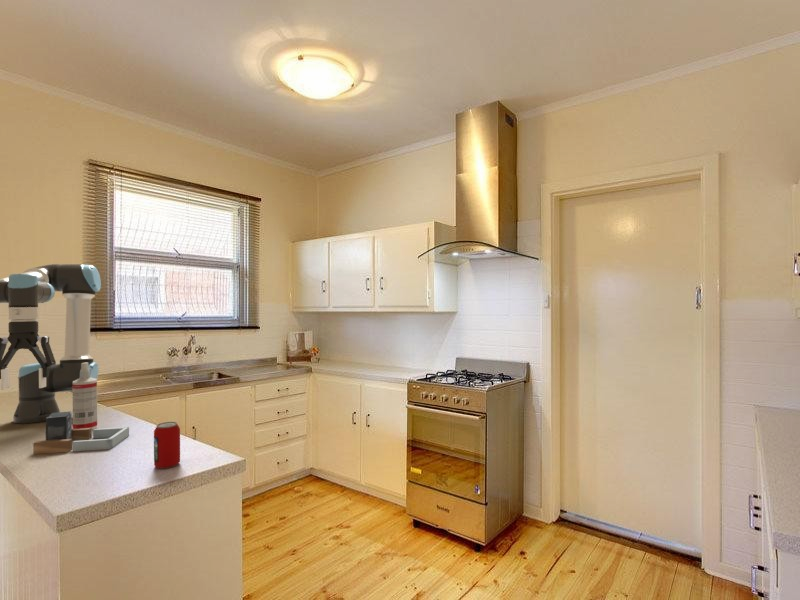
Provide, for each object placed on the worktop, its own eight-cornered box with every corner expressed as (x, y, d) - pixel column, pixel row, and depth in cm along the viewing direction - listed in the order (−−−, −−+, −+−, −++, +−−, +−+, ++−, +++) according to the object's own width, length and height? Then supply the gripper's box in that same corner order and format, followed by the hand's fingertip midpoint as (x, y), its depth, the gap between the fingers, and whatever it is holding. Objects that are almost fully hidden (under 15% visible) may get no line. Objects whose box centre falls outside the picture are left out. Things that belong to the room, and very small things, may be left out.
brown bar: (59, 439, 156) (59, 429, 156) (91, 437, 157) (91, 427, 157) (33, 454, 141) (33, 442, 141) (69, 451, 143) (69, 440, 143)
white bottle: (96, 429, 168) (96, 363, 168) (72, 432, 164) (71, 364, 164) (97, 424, 174) (97, 360, 175) (74, 427, 170) (73, 362, 171)
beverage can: (160, 461, 133) (160, 421, 133) (184, 460, 133) (183, 420, 133) (149, 470, 126) (149, 427, 126) (174, 469, 126) (174, 427, 127)
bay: (94, 437, 158) (94, 429, 158) (129, 435, 160) (129, 427, 160) (72, 451, 143) (72, 441, 143) (110, 448, 145) (110, 439, 145)
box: (66, 448, 147) (66, 415, 147) (45, 450, 144) (45, 417, 144) (72, 441, 154) (71, 410, 154) (51, 443, 151) (51, 412, 151)
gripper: (-25, 321, 141) (-25, 392, 141) (56, 320, 146) (56, 388, 145) (-9, 320, 148) (-8, 387, 148) (68, 319, 153) (68, 384, 153)
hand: (24, 388), depth 147 cm, fingers open, 10 cm apart
